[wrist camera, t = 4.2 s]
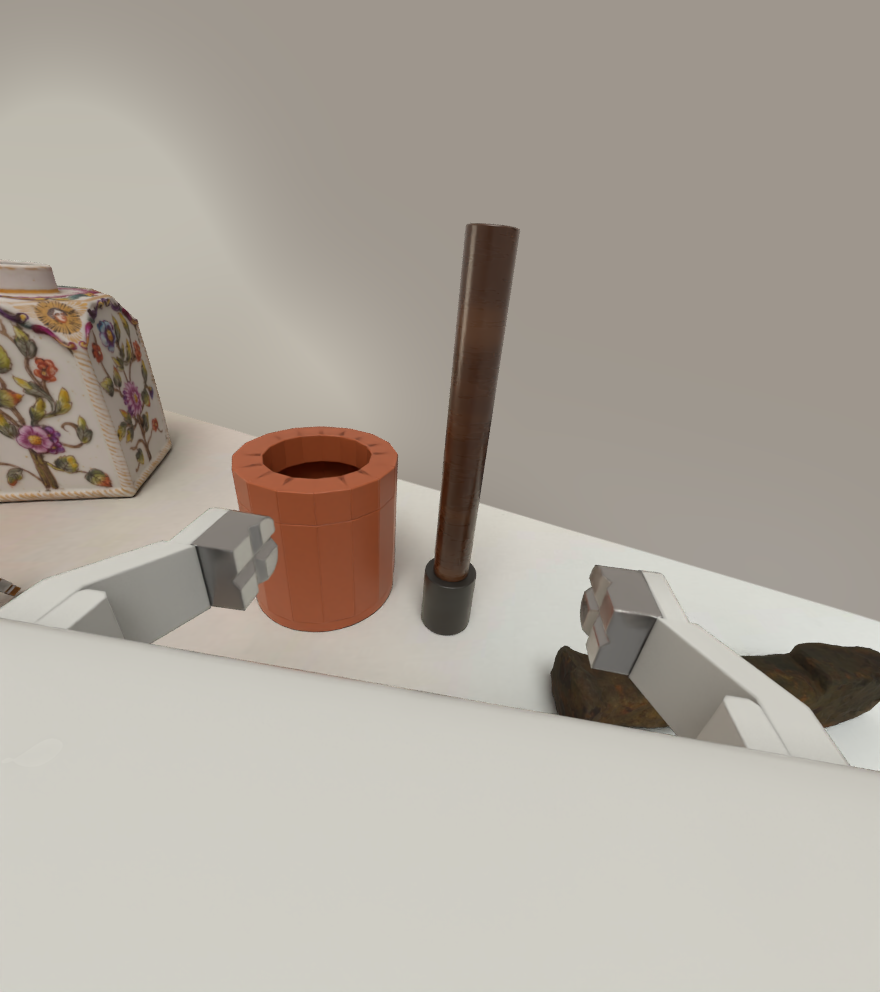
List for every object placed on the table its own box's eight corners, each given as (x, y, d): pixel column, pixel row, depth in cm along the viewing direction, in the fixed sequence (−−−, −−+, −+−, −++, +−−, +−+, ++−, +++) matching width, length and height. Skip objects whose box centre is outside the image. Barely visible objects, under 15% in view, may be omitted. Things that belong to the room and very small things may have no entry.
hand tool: (561, 752, 20) (586, 694, 18) (542, 680, 24) (561, 624, 21) (914, 761, 21) (980, 708, 19) (846, 691, 25) (895, 639, 23)
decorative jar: (52, 449, 43) (-31, 253, 35) (175, 447, 46) (128, 265, 37) (-30, 507, 33) (-175, 253, 25) (134, 500, 36) (56, 270, 27)
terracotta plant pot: (300, 658, 24) (282, 512, 19) (233, 575, 29) (205, 446, 24) (419, 586, 30) (428, 462, 25) (345, 528, 35) (340, 417, 30)
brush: (445, 644, 25) (500, 221, 15) (411, 614, 27) (437, 221, 16) (478, 618, 27) (547, 231, 17) (444, 593, 29) (486, 230, 18)
